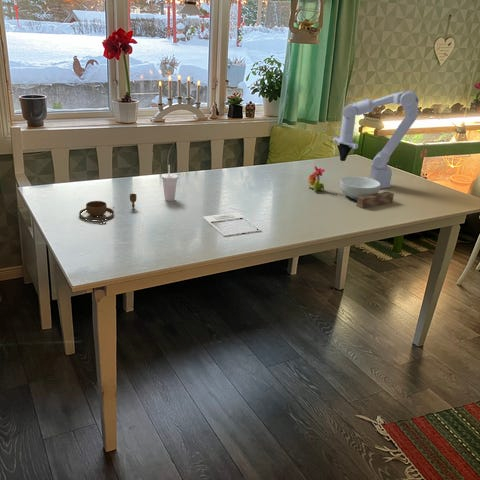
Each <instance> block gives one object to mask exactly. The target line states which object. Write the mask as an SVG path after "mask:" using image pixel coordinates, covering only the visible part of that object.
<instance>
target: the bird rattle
mask: <svg viewBox="0 0 480 480" xmlns="http://www.w3.org/2000/svg"><path fill="white" fill-rule="evenodd" d="M314 170H315V171H312V172H311V173H310V174H309V175H308V177H307V178H308V179H307V184H308V189H313V191H314V193H315V192H317V190H318V191H321V190H322V191H325V185H324V183H323V182H322V183H321V180H320V179H321V177H322V176H323V173H324V172H325V171H326V169H322V168H321V167H319V168H318V166H314ZM320 176H321V177H320Z"/></svg>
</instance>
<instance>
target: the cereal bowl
mask: <svg viewBox="0 0 480 480" xmlns="http://www.w3.org/2000/svg"><path fill="white" fill-rule="evenodd" d="M339 181H340V182H339V187H340V190H341V192H342V194H344V195H345V196H347V197H348V198H350V199H352V200H356V201H357V200H358V197H359V196H365V195H371V194H376V193H380V183H379V182H378V181H376V180H374V179H370V177H366V176H365V177H364V176H359V175H358V176H355V175H354V176H353V175H351V176H350V175H349V176H344V177H342V178H341V179H340V180H339Z"/></svg>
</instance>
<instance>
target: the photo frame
mask: <svg viewBox="0 0 480 480" xmlns="http://www.w3.org/2000/svg"><path fill="white" fill-rule="evenodd" d="M239 218H244V219H245V220H246V221H245V220H244V219H243V220H244V221H245V222H247V221H248V222H249V223H250V224H249V223H248V222H247V223H248V224H249V225H251V224H252V225H253V226H254V228H255V227H256V228H257V229H258V230H257V229H256V228H255V229H253V230H252V229H251V230H246V231H238V232H233V233H232V232H231V233H226V234H225V233H224V232H223V231H221V230H220V229H219V227H217V226H216V225H214V223H219V222H218V221H222V222H226V221H225V220H229V221H234V220H233V219H237V220H240V219H239ZM202 219H203V220H204V219H205V220H206V221H207V222H206V221H205V220H204V221H205V222H206V223H207V224H209V225H210V226H211V225H212V226H213V227H214V228H215V229H214V230H216V231H217V232H218V233H219V234H220V233H221V234H222V235H223V237H224V236H226V237H230V236H229V235H233V236H236V235H235V234H240V235H243V234H242V233H246V234H249V233H248V232H253V233H257V232H256V231H260V232H262V231H263V229H261V228H260V227H259V226H257V225H256V224H254V223H253V222H252V221H250V220H249V219H248V218H247V217H245V216H244V215H243V214H241V213H240V212H238V211H237V212H229V213H228V212H227V213H223V214H222V213H221V214H215V215H207V216H202ZM211 222H214V223H211ZM252 225H251V226H252ZM212 226H211V227H212ZM253 226H252V227H253ZM213 227H212V228H213ZM221 234H220V235H221ZM222 235H221V236H222Z"/></svg>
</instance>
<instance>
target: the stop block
mask: <svg viewBox="0 0 480 480" xmlns="http://www.w3.org/2000/svg"><path fill="white" fill-rule="evenodd" d="M394 195H395V193H394V192H392V191H382V192H378V193H376V194H371V195H365V196H359V197H358V200H356V207H358V208H360V209H364V208H365V209H366V208H370V207H371V208H372V207H375V206H382V205H386V204H392V203H393V201H394Z"/></svg>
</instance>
